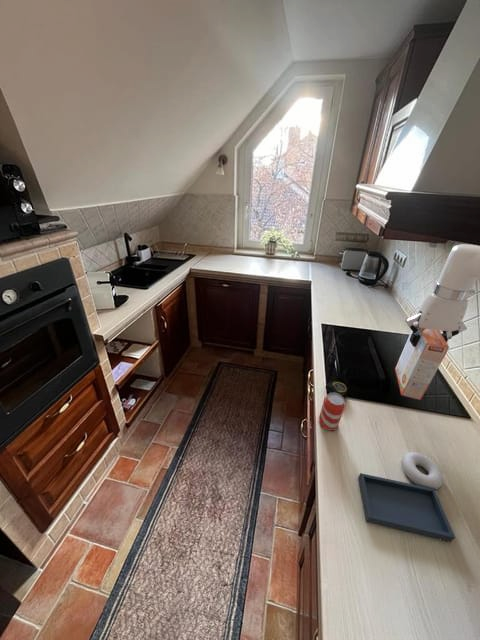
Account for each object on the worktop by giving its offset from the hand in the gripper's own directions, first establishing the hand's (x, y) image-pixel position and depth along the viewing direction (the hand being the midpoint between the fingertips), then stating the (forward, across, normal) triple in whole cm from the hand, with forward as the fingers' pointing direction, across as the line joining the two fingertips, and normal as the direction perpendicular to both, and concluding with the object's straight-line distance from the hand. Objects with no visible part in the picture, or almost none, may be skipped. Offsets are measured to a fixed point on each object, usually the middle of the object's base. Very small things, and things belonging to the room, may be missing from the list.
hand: (425, 345), depth 78 cm
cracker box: (+16, 0, 0) cm, 16 cm away
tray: (+29, +9, +34) cm, 45 cm away
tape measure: (+29, +21, -2) cm, 35 cm away
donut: (+29, 0, +23) cm, 37 cm away
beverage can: (+29, +25, +12) cm, 40 cm away
